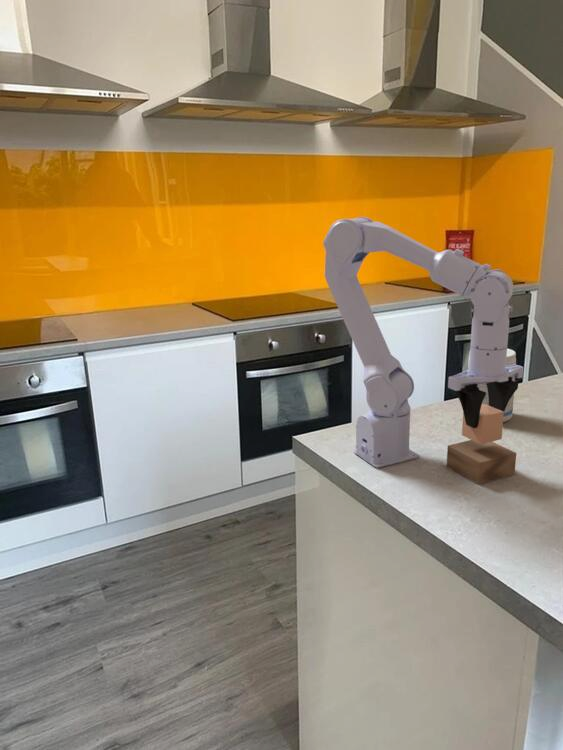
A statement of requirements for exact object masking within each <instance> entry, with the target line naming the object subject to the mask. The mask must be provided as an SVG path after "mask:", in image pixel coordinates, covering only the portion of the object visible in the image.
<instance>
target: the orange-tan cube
mask: <svg viewBox="0 0 563 750" xmlns="http://www.w3.org/2000/svg"><path fill="white" fill-rule="evenodd" d="M503 416H504V411H501V410H499V409H496V408H494V407H491V406H489V405H486V404H482V405H481V409H480V416H479V423H478V426H477V428H472V427H470V426H468V425H466V422H465V417H464V412H463V413H462V427H461V429H462V430H461V436H462V437H465V438H466V439H469V440H473V441H475V442H477V443H479V444H484V443H488V442H496V441H500V440H502V437H503V426H504V422H503Z"/></svg>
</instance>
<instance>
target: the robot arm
mask: <svg viewBox="0 0 563 750" xmlns="http://www.w3.org/2000/svg"><path fill="white" fill-rule="evenodd" d="M322 243H323V246H324V250H325V256H324V257H325V259H324V261H325V262H324V278H325V282H326V284H327V286H328V288H329V291H330V293H331V295H332V297H333V299H334V301H335V303H336V307H337V308H338V311H339V313H340V316H341V318H342V319H343V322H344V324H345V326H346V329H347V331H348V333H349V336H350V337H351V340H352V342H353V344H354V347H355V349H356V351H357V353H358V356H359V358H360V360H361V363H362V365H363V376H362V377H363V380H362V381H363V384H364V387H365V390H366V394H365V395H366V404H367V405H368V406H369V407H368V408H370V410H368V411H367V412H366V413H365V414H362V415H360V416H359V417H358V418H357V420H356V424H355V425H356V428H355V431H356V432H355V435H356V436H355V437H356V438H355V443H356V444H355V449H354V450H353V452H354V454H356V455H358V456H359V457H360V458H362V460H365V461H366V462H367V463H369V464H370V465H372V466H373V467H375V468H378V469H379V468H382V467H387V466H390V465H395V464H398V463H402V462H407V461H410V460H414V459H418V458H419V457H420V454H419V453H417V452H415V451H413V450H411V449H410V437H411V435H410V434H411V433H410V431H411V406H410V404H409V398H410V397H411V396H412V395H413V393H414V390H415V383H414V380H413V378H412V375H410V374H409V373H408V372H407V371H406V370H405V369H404V368H403V366H402V365H401V363H400V361H399V360H398V359H397V358H396V357H394V356H393V355H392V353H391V351H390V349H389V347H388V344H387V342H386V339H385V338H384V335H383V333H382V331H381V328H380V326H379V324H378V322H377V319H376V317H375V314H374V313H373V312H374V311H373V310H372V308H371V306H370V304H369V301H368V299H367V296H366V294H365V292H364V290H363V287H362V285H361V283H360V281H359V279H358V276H357V275H358V273H359V271H360V268H361V266H362V265H363V262H364V259H366V257H367V256H368V255H369V254H370V253H377V252H387V253H389V254H391V255H393V256H395V257H397V258H400V259H403V260H405V261H407V262H409V263H410V264H413V265H416V266H418V267H420V268H423V269H425V270H426V271H427V272H428V274H429V277H430V280H431V282H434V283H436V284H438V285H439V286H441V287H444V288H445V289H448V290H449V291H451V292H453V293H455V294H457V295H459V296H461V297H463V298H465V299H467V298H468V299H469V298H470V301H471V303H472V305H473V315H472V316H473V317H472V319H471V320H472V321H471V331H470V333H471V334H470V349H469V352H470V363H469V369H468V368H467V370H464V371H462V372H459V373H456V374H455V375H451V376H448V379H447V381H448V382H447V388H448V389H450V390H452V391H454V392H455V393H456V394H455V395H457V397H458V400H459V402H460V405H461V409H462V411H463V412H464V417H465V422H466V425H468V426H470V427H472V428H477V426H478V423H479V416H480V409H481V405H482V402H483V399H484V397H485V395H486V392H484V391H481V390H479V387H478V388H477V385H480V384H485V383H486V384H487V389H488V397H489V406H491V407H494V408H496V409H499V410H501V411H505V408H506V406H507V404H508V402H509V400H510V398H511V397H512V395H513V394H514V395H515V393H516V391H517V390H518V388H519V382H517V381H516V380H515V381H512V378H515V379H522V378H524V377H523V376H524V366H522V365H518V364H516V365H515V364H514V365H506V356H507V349H508V342H509V331H510V330H509V329H510V318H509V316H510V312H511V311H510V303H509V301H510V299H511V298H512V296H513V294H514V282H513V280H512V279H511V277H510V276H509V275H508V274H507V273H505V272H504V271H503V270H502V269H491V268H492V266H491V264H488V263H484V264H481V263H479V262H476V261H475V260H473V259H470V258H468V257H466V256H464V254H465V251H463V250H461V249H460V248H457V249H455V250H452V249H445V250H443V251H440V252H438V251H437V250H434V249H432V248H430V247H429V246H426V245H425V244H423V243H421V242H419V241H417V240H415V239H413V238H411V237H410V236H408V235H406V234H404V233H402V232H400V231H398V230H397V229H395V228H393V227H392V226H389V225H387V224H385V223H383V222H381V221H374V220H372V219H371V218H369V217H366V216H358V217H356V218H350V219H349V218H342V219H338V220H336V221H334V223H332V224H331V225H330V227H329V229H328V231H327V233H326V235H325V237H324V240H323V241H322ZM490 269H491V270H490Z"/></svg>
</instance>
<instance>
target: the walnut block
mask: <svg viewBox="0 0 563 750" xmlns="http://www.w3.org/2000/svg"><path fill="white" fill-rule="evenodd" d="M516 461H517V452H515V451H513V450H511V449H509V448H507V447H504V446H503V445H500V444H499V443H496V442H495V441H492V442H488V443H484V444H479V443H477V442H475V441H473V440H471V439H469V440H466V441H460V442H458V443H454V444H453V443H452V444H448V445H447V451H446V467H447V468H449V469H450V470H452V471H454V472H456V473H458V474H459V475H460V476H463V477H464V478H466V479H468V480H469V481H471V482H473V483H474V484H476V485H483V484H486V483H490V482H492V481H496V480H500V479H503V478H507V477H511V476H513V475H515V473H516V472H515V471H516V465H517V464H516V463H517V462H516Z"/></svg>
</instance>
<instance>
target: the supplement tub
mask: <svg viewBox="0 0 563 750" xmlns="http://www.w3.org/2000/svg"><path fill="white" fill-rule="evenodd" d="M516 353H517V352H516V351H515V350H513V349H511V348H507V356H506V365H514V364H515V365H517V358H516V356H517V354H516ZM469 363H470V351H469V353H468V362H467V370H468V369H469ZM512 381H515V382H516V377H515V378H512ZM478 387H479V390H481V391H484V392H486V395H485V397H484V399H483V402H482V404H486V405H489V397H488V389H487V384H486V383H485V384H480V385H477V388H478ZM514 399H515V393H514V394H513V395H512V397H511V398H510V400H509V402H508V404H507V406H506V408H505V411H504V416H503V423H505V422H508V421H509V420H511V419H512V417H513V410H514Z"/></svg>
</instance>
